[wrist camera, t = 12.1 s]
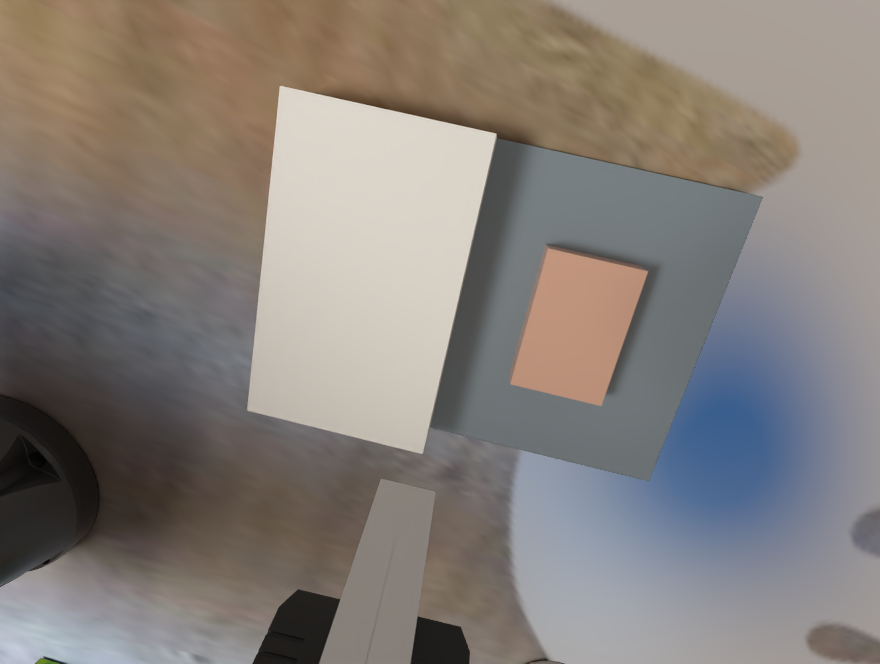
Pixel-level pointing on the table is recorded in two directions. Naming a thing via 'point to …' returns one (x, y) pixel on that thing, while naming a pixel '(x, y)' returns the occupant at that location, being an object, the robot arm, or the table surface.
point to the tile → (576, 324)
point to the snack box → (45, 661)
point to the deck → (363, 265)
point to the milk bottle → (546, 662)
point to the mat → (652, 325)
